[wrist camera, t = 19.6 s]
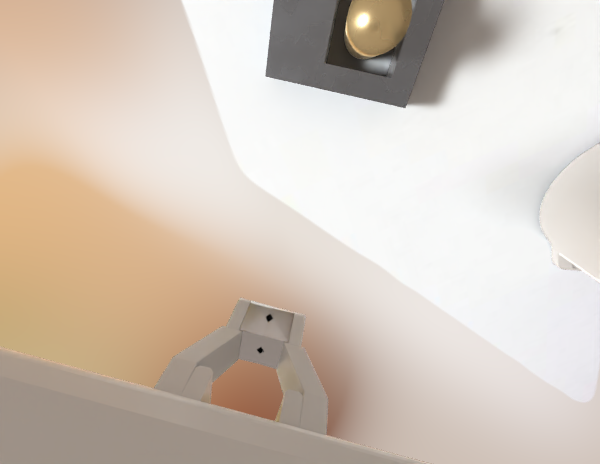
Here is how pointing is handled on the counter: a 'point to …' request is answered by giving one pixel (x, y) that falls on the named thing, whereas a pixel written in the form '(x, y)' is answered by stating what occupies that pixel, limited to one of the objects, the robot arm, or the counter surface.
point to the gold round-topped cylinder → (376, 26)
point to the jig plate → (316, 42)
